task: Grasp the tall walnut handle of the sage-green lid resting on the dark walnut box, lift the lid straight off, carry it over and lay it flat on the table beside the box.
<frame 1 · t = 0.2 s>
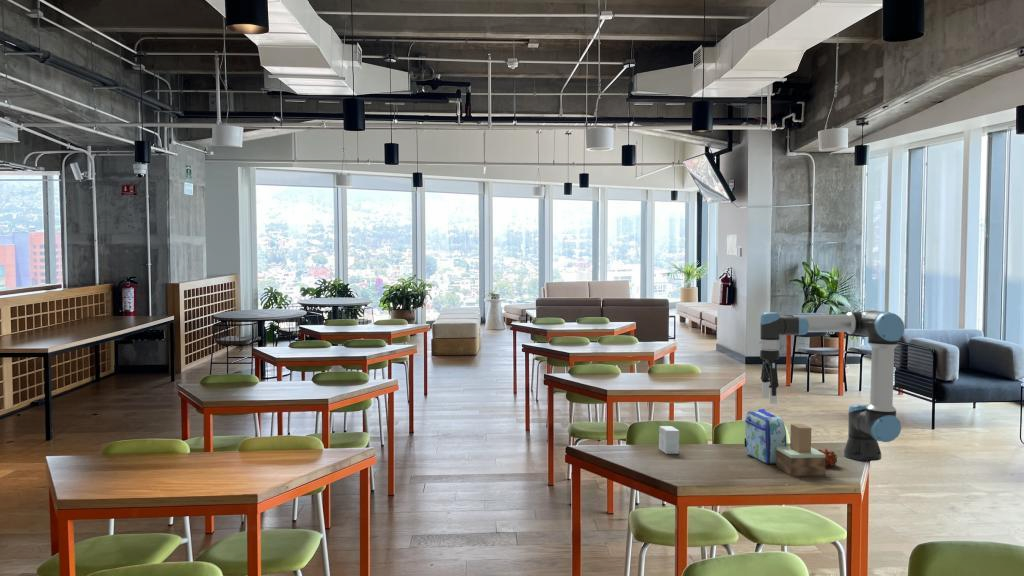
hand: (769, 400, 329), 28 cm above the table, fingers open, 13 cm apart
lid: (800, 453, 321), point 8 cm above the table, touching box
skincare box: (668, 451, 358), on the table
lunch box: (764, 460, 342), on the table
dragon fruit: (823, 468, 329), on the table
box: (800, 473, 321), on the table
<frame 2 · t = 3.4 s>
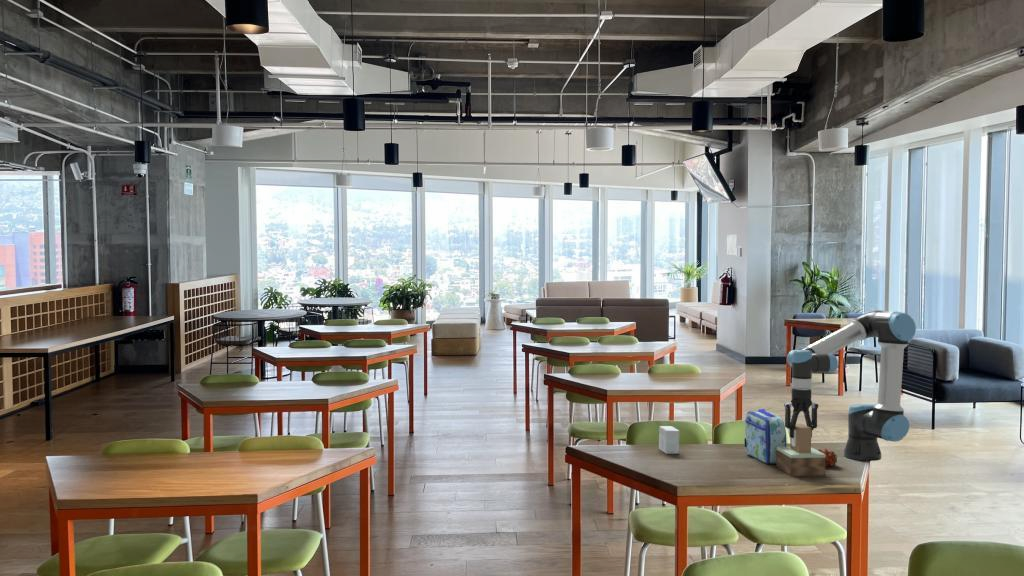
hand: (800, 445, 321), 11 cm above the table, fingers closed on lid, 5 cm apart
lid: (800, 453, 321), point 8 cm above the table, touching box, gripper
everything else where it was.
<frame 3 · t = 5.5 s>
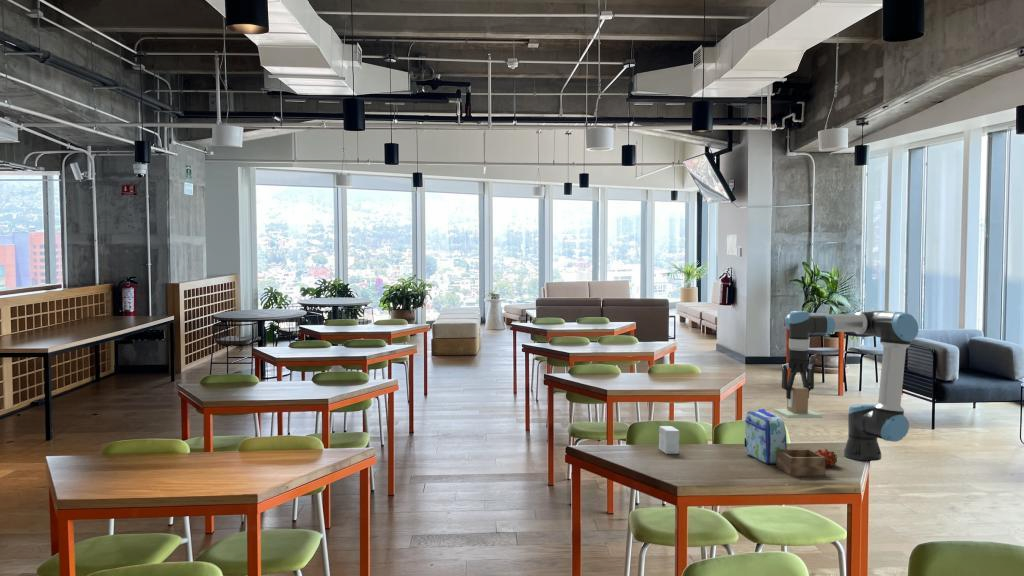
hand: (797, 406, 320), 27 cm above the table, fingers closed on lid, 5 cm apart
lid: (797, 414, 320), point 24 cm above the table, touching gripper
everything else where it was.
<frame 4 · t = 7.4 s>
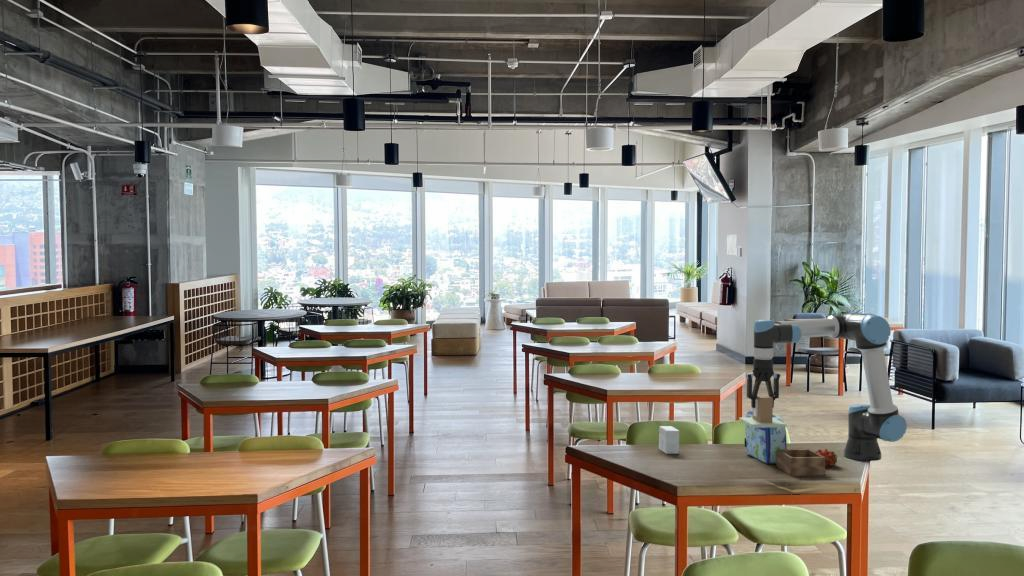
hand: (762, 415, 319), 24 cm above the table, fingers closed on lid, 5 cm apart
lid: (762, 423, 319), point 20 cm above the table, touching gripper
everything else where it was.
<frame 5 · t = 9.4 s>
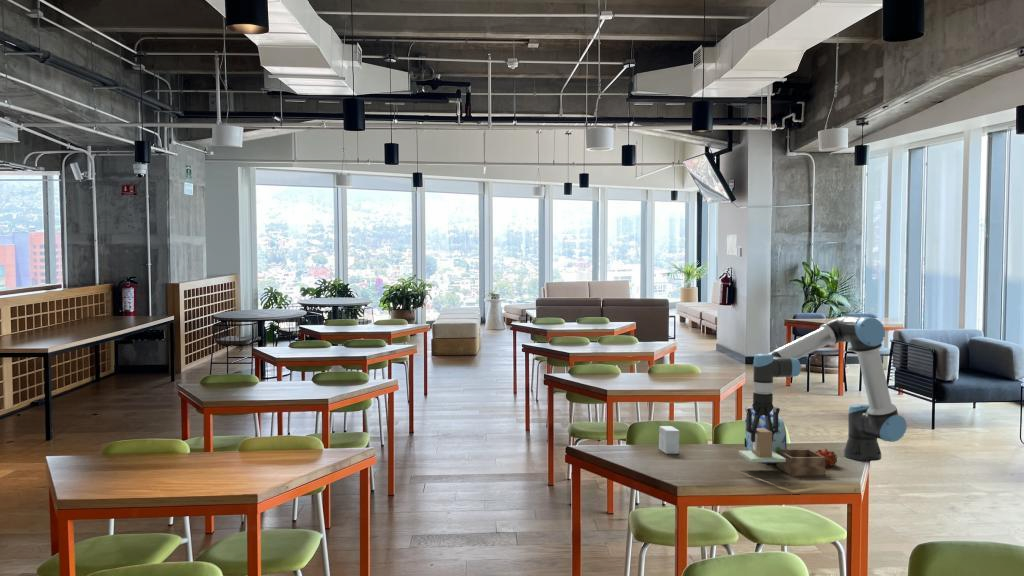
hand: (761, 449, 319), 10 cm above the table, fingers closed on lid, 5 cm apart
lid: (761, 457, 320), point 7 cm above the table, touching gripper
everything else where it was.
when the fingers open (5 cm above the table, at t = 11.3 s): lid drops 2 cm, on the table.
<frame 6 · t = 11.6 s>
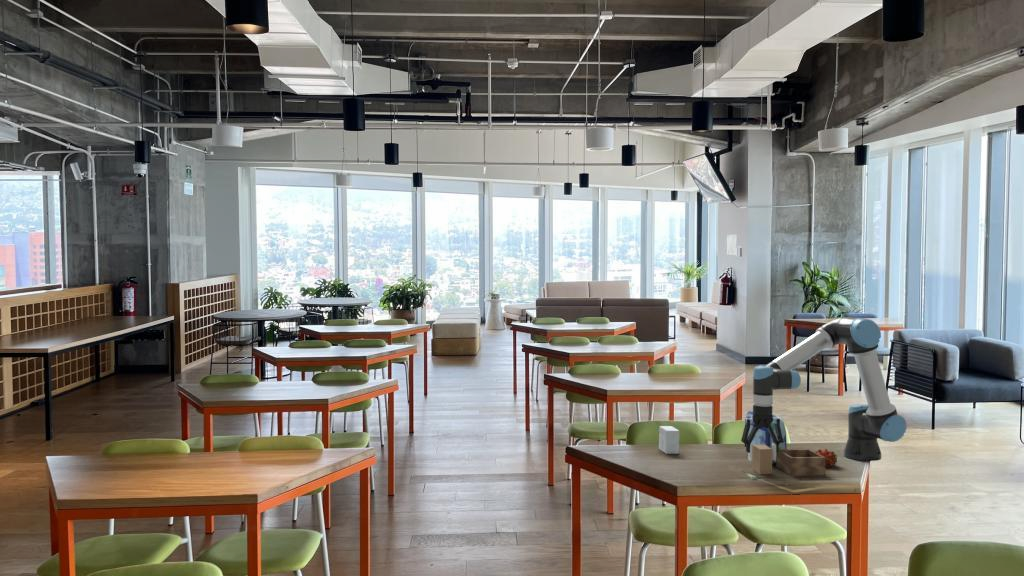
hand: (761, 460, 320), 6 cm above the table, fingers open, 9 cm apart
lid: (761, 474, 320), on the table
everything else where it was.
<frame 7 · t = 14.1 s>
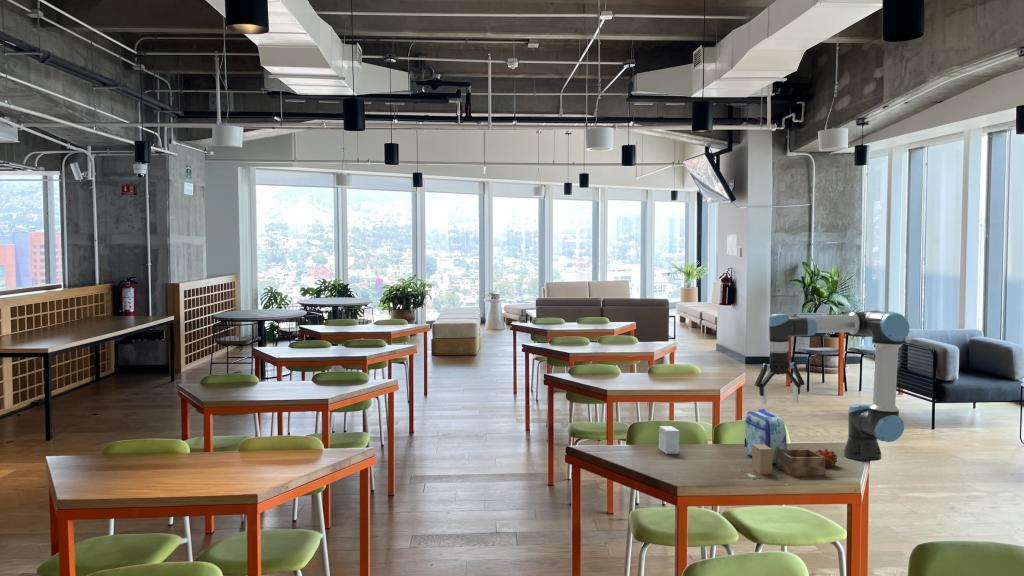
hand: (779, 403, 326), 27 cm above the table, fingers open, 13 cm apart
nothing on the table moved.
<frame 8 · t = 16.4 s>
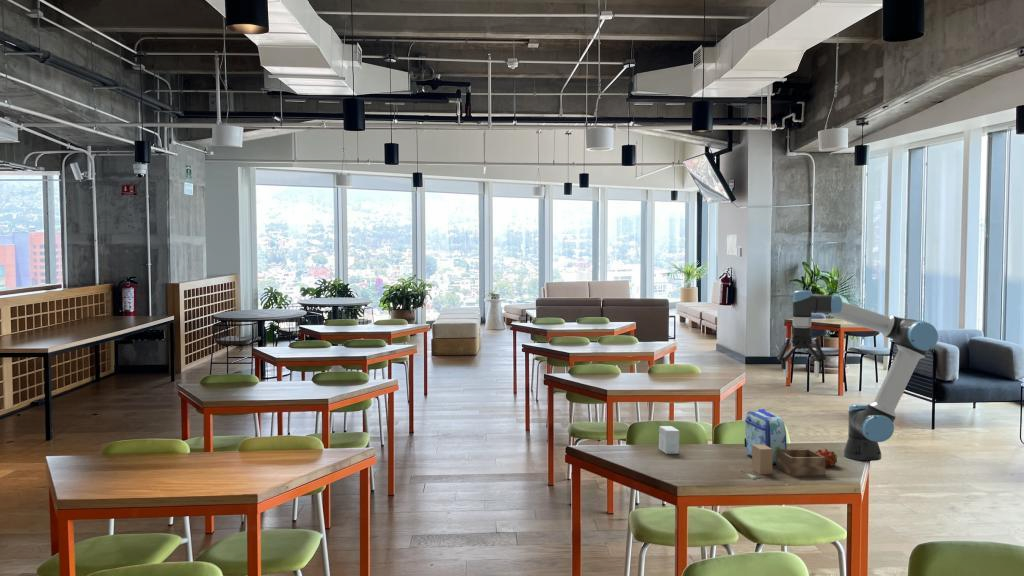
hand: (801, 376, 336), 37 cm above the table, fingers open, 13 cm apart
nothing on the table moved.
at the end: lid inside the target area (0.1 cm from its centre), on the table; lid tilted 0°; lid touching table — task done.
